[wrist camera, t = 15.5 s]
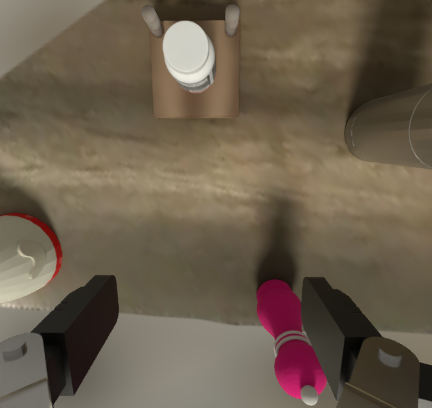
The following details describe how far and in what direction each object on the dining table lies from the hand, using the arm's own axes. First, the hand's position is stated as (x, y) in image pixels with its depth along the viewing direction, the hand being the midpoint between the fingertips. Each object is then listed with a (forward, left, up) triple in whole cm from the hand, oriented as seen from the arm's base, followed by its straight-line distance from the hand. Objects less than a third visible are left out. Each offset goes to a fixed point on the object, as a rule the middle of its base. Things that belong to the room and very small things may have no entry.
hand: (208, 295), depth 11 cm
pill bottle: (+3, -16, -29) cm, 33 cm away
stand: (+3, -16, -32) cm, 36 cm away
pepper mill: (-10, +20, -32) cm, 39 cm away
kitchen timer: (+34, +12, -32) cm, 48 cm away
